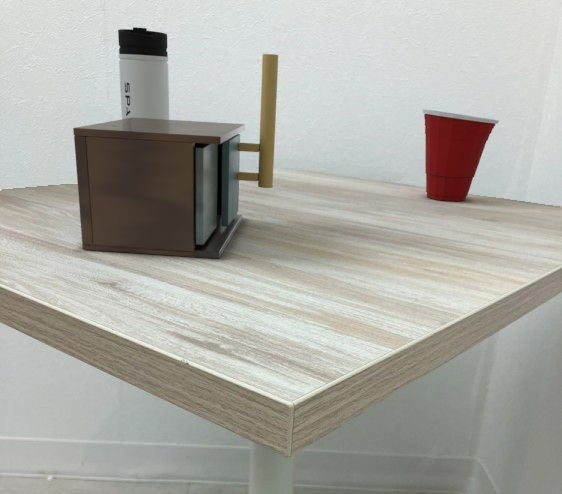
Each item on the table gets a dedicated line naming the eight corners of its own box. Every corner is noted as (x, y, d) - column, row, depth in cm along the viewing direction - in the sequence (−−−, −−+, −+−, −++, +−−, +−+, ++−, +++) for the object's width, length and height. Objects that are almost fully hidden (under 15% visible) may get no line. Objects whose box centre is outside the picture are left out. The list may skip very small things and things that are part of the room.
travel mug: (166, 184, 94) (162, 29, 86) (174, 191, 89) (171, 27, 80) (122, 184, 92) (114, 26, 84) (127, 191, 87) (119, 23, 78)
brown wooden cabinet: (242, 219, 73) (245, 124, 69) (219, 258, 57) (220, 136, 53) (136, 212, 74) (132, 117, 70) (82, 249, 57) (72, 127, 53)
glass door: (271, 213, 72) (279, 55, 66) (265, 229, 65) (273, 51, 58) (232, 211, 73) (235, 52, 66) (221, 226, 65) (223, 48, 58)
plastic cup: (493, 206, 91) (510, 115, 86) (417, 202, 91) (430, 110, 86) (474, 194, 101) (488, 112, 96) (405, 190, 101) (416, 108, 96)
